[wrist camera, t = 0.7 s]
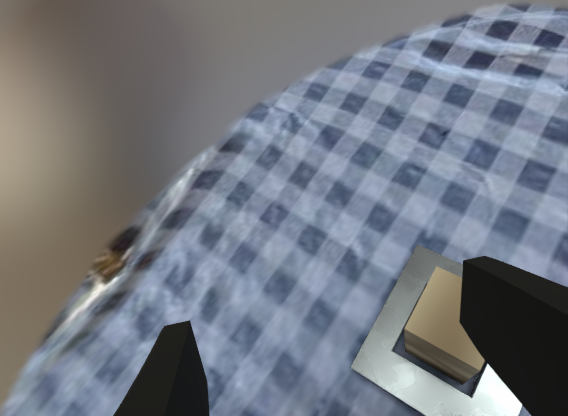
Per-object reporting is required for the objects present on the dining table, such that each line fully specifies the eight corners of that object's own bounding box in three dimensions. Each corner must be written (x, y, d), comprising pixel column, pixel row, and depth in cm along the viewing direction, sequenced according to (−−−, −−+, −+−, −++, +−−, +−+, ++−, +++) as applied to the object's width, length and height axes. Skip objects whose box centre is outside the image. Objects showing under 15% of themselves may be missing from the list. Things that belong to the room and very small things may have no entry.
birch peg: (487, 330, 25) (511, 300, 19) (462, 384, 24) (480, 370, 18) (430, 302, 27) (436, 266, 21) (405, 351, 26) (404, 328, 20)
